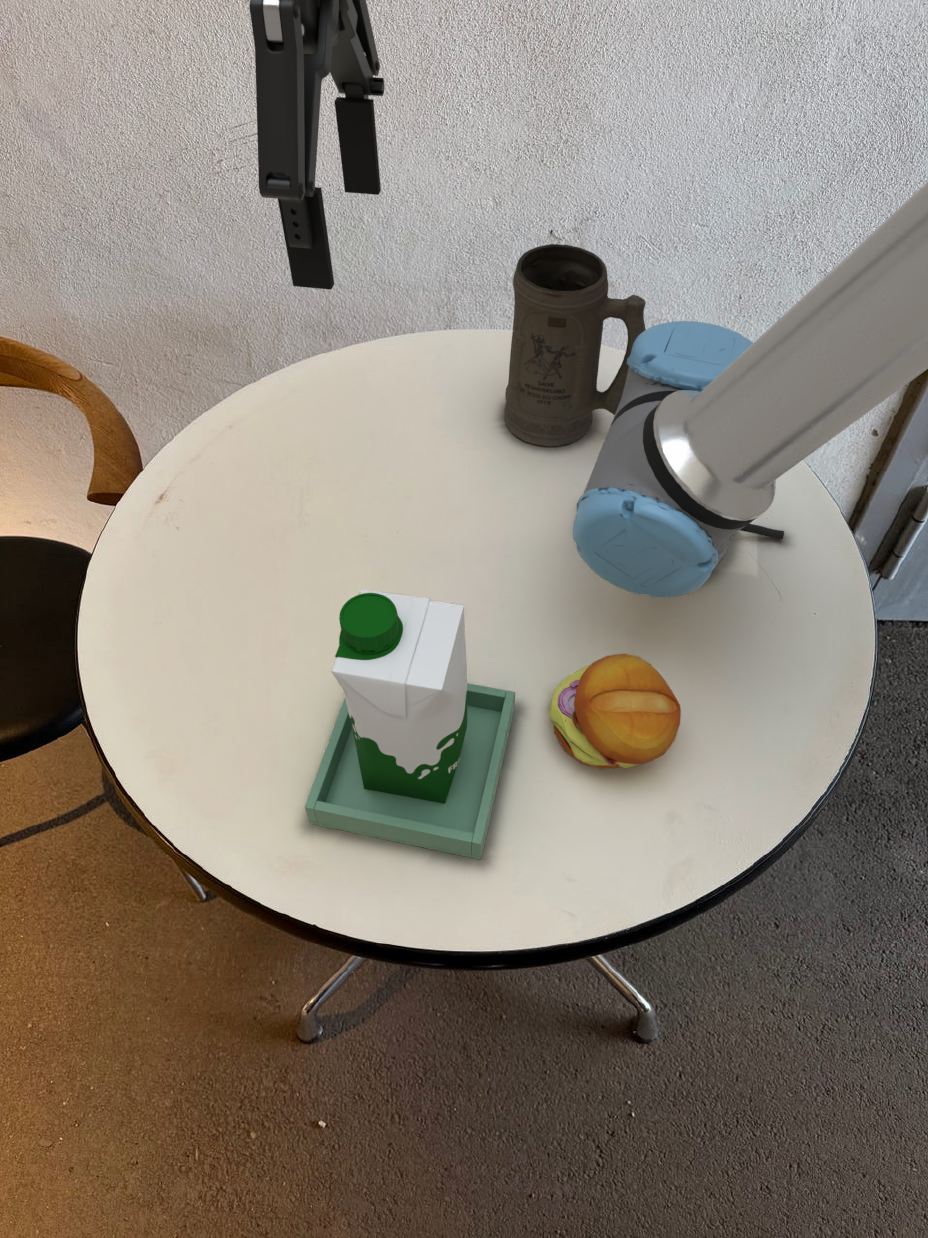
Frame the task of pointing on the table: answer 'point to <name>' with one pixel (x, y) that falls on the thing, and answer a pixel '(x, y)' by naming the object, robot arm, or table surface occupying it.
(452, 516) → the table surface
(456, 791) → the tray
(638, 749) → the cheeseburger
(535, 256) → the beer stein
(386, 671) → the soya milk
